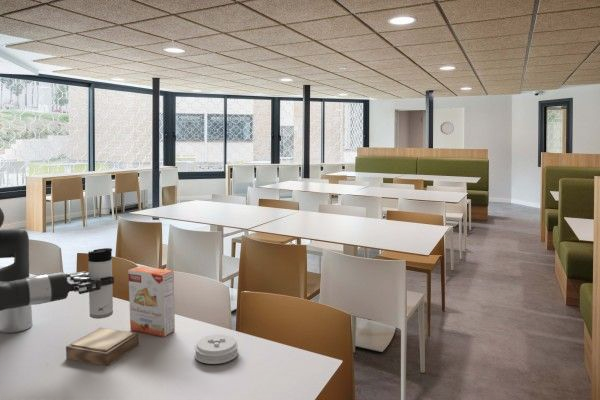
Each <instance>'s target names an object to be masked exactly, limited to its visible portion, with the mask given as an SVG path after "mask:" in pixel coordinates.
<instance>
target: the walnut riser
mask: <svg viewBox="0 0 600 400" xmlns="http://www.w3.org/2000/svg"><path fill="white" fill-rule="evenodd" d="M139 338H140V337H139V333H138V332H131V331H124V330H120V329H119V330H118V329H112V328H107V327H106V328H105V327H99V328H97V329H95V330H93V331H92V332H90V333H88V334H86V335H85V336H83V337H81V338H79V339H77V340H76V341H74V342H72V343H70V344H68V345H66V346H65V352H66V353H65V354H66V356H65V358H66V360H68V359H69V360H73V361H79V362H84V363H89V364H96V365H100V366H105V367H108V366H109V365H111V364H112V363H114V362H115V361H117V360H118V359H120V358H121V357H123V356H125V355H126V354H127V353H128V352H130V351H132V350H133V349H134V348H136V347H138V346H139Z"/></svg>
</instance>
